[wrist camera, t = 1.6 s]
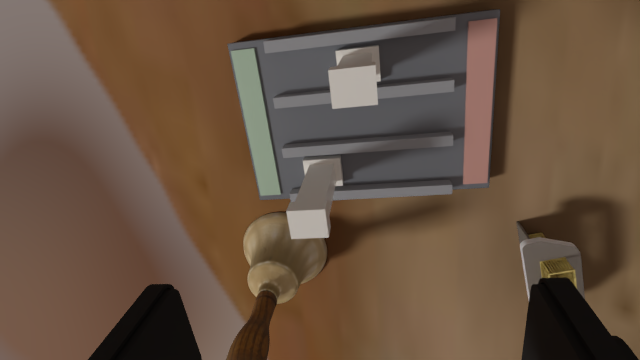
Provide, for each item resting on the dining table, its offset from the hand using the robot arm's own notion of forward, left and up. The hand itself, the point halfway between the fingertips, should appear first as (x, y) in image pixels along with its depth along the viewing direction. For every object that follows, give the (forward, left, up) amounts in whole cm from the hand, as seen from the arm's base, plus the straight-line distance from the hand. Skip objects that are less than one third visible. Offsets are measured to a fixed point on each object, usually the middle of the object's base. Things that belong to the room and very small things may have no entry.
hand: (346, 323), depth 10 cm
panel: (0, 0, -22) cm, 22 cm away
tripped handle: (0, -4, -21) cm, 21 cm away
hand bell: (+9, +13, -23) cm, 27 cm away
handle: (+3, +4, -21) cm, 21 cm away
